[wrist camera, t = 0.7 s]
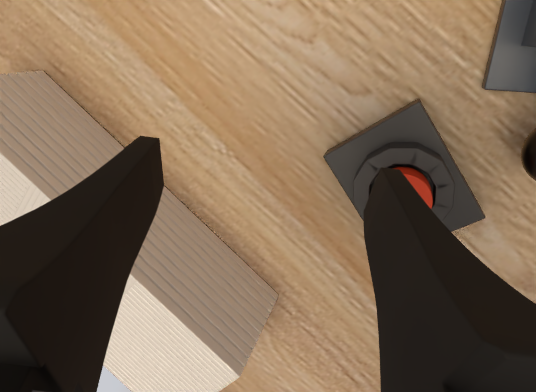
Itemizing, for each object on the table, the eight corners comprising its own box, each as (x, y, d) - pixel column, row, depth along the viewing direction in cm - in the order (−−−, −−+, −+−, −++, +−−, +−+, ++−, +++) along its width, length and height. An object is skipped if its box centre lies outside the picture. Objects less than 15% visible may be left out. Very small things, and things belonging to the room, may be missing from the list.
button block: (481, 209, 30) (490, 228, 27) (387, 248, 34) (385, 269, 31) (418, 98, 29) (420, 105, 26) (326, 150, 32) (318, 163, 29)
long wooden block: (279, 294, 39) (239, 377, 30) (218, 342, 44) (168, 426, 35) (42, 70, 38) (-77, 80, 28) (8, 145, 43) (-104, 175, 33)
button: (441, 203, 28) (443, 212, 26) (389, 225, 30) (389, 236, 28) (413, 156, 27) (414, 163, 26) (363, 182, 29) (361, 190, 28)
